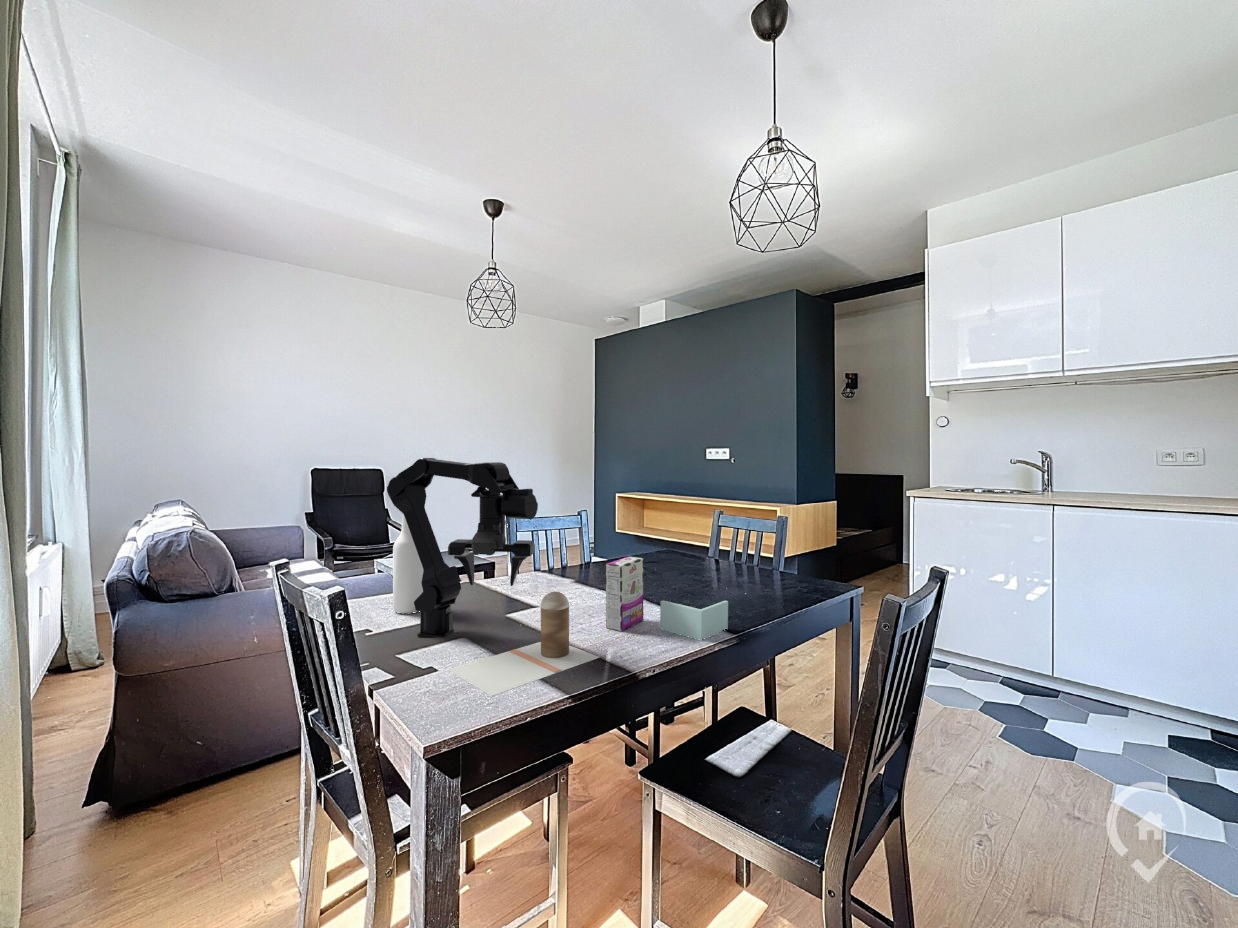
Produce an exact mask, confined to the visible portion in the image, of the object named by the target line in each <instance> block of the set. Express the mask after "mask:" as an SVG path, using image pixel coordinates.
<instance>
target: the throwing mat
mask: <svg viewBox="0 0 1238 928" xmlns="http://www.w3.org/2000/svg"><path fill="white" fill-rule="evenodd" d="M598 658H599V659H600V658H601V657H600V656H599V655H595V654H592V653H590V652H588V651H585V650H582V649H580V648H577V647H575V646H573V645H570V644H569V654H568V655H566V656H564V657H560V658H547V657H544V656H542V655H541V641H537V642H536V643H532V644H528V645H525V646H521V647H518V648H514V649H511V650H508V651H505V652H501V653H498V654H494V655H492V656H488V657H484V658H481V659H479V660H475V661H471V662H468V663H465V664H461V665H458V666H455V667H451V668H448V669H446V670H447V671H448V672H450V673H452V674H453V675H455V676H457V677H458V678H460V679H462V680H463V681H465V682H467V683H469V684H471V686H474V687H476V688H477V689H478V690H481V691H482V692H484V693H485V694H487V695H489V696H490V697H494V696H496V695H499V694H502V693H504V692H508V691H509V690H510V691H511V690H514V689H515V688H518V687H521V686H524V685H527V684H529V683H532V682H535V681H538V680H541V679H543V678H545V677H550V676H553V675H554V674H558V673H560V672H563V671H567V670H569V669H572V668H575V667H577V666H579V665H582V664H585V663H588V662H591V661H594V660H596V659H598Z"/></svg>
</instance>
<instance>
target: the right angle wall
mask: <svg viewBox="0 0 1238 928" xmlns="http://www.w3.org/2000/svg"><path fill="white" fill-rule="evenodd" d="M659 614H660V615H659V616H660V617H659V618H660V619H659V621H660V622H659V623H660V624H659V626H660V627H659V629H660V631H664V630H665V631H664V632H667V631H668V632H667V633H671V632H673V633H672V634H674V633H676V634H675V635H678V634H681V635H684V636H683V637H685V636H689V637H692V638H696V639H700V640H701V639H704V638H707V637H709V636H711V637H713V636H715V635H714V634H716V635H718V634H719V633H718V632H720V633H722V632H723V631H722V630H724V631H726V630H725V629H727V630H728V629H729V627H728V626H729V601H728V600H723V601H720V602H717V603H714V604H712V605H709V606H706V607H703V608H701V609H700V608H696V607H693V606H687V605H683V604H681V603H677V602H676V603H675V602H671V601H668V600H660V613H659ZM721 631H722V632H721ZM717 633H718V634H717ZM681 635H680V636H681ZM712 635H713V636H712ZM689 637H688V638H689ZM692 638H691V639H692ZM709 638H710V637H709ZM696 639H695V640H696ZM707 639H708V638H707ZM704 640H705V639H704Z"/></svg>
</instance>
